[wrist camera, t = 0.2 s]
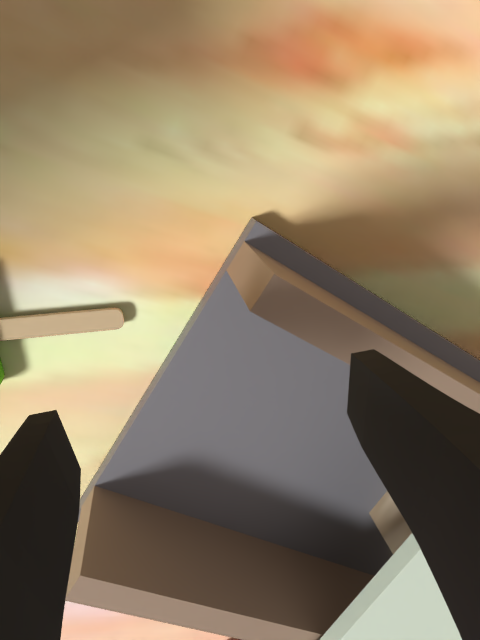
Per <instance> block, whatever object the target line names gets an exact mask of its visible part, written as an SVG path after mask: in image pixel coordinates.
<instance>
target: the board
mask: <svg viewBox="0 0 480 640" xmlns="http://www.w3.org/2000/svg"><path fill="white" fill-rule="evenodd" d="M372 349H374V350H376V351H378V352H380V353H381V354H383V355H384V356H386V357H388V358H389V359H391V360H392V361H394V362H395V363H397V364H398V365H400V366H402V367H403V368H405V369H406V370H408V371H409V372H411V373H412V374H414V375H416V376H417V377H419V378H420V379H422V380H423V381H425V382H427V383H428V384H430V385H431V386H433V387H435V388H436V389H438V390H440V391H441V392H443V393H444V394H446V395H448V396H449V397H451V398H453V399H455V400H456V401H458V402H460V403H461V404H463V405H465V406H467V407H468V408H470V409H472V410H474V411H476V412H478V413H479V414H480V360H478V359H477V358H475V357H474V356H472V355H470V354H469V353H467V352H466V351H464V350H462V349H461V348H459V347H458V346H456V345H454V344H453V343H451V342H450V341H448V340H446V339H445V338H443V337H442V336H440V335H438V334H437V333H435V332H434V331H432V330H431V329H429V328H427V327H426V326H424V325H423V324H421V323H419V322H418V321H416V320H415V319H413V318H411V317H410V316H408V315H407V314H405V313H403V312H402V311H400V310H399V309H397V308H395V307H394V306H392V305H391V304H389V303H387V302H386V301H384V300H383V299H381V298H379V297H378V296H376V295H375V294H373V293H372V292H370V291H368V290H367V289H365V288H364V287H362V286H360V285H359V284H357V283H356V282H354V281H352V280H351V279H349V278H348V277H346V276H344V275H343V274H341V273H340V272H338V271H336V270H335V269H333V268H332V267H330V266H328V265H327V264H325V263H324V262H322V261H320V260H319V259H317V258H316V257H314V256H313V255H311V254H309V253H308V252H306V251H305V250H303V249H301V248H300V247H298V246H297V245H295V244H293V243H292V242H290V241H289V240H287V239H285V238H284V237H282V236H281V235H279V234H277V233H276V232H274V231H273V230H271V229H269V228H268V227H266V226H265V225H263V224H261V223H260V222H258V221H257V220H255V219H253V218H251V219H250V221H249V223H248V224H247V226H246V227H245V229H244V231H243V232H242V234H241V236H240V237H239V239H238V241H237V242H236V244H235V246H234V247H233V249H232V250H231V252H230V254H229V255H228V257H227V259H226V260H225V262H224V264H223V265H222V267H221V269H220V270H219V272H218V274H217V275H216V277H215V278H214V280H213V282H212V283H211V285H210V287H209V288H208V290H207V292H206V293H205V295H204V297H203V298H202V300H201V301H200V303H199V305H198V306H197V308H196V310H195V311H194V313H193V315H192V316H191V318H190V320H189V321H188V323H187V324H186V326H185V328H184V329H183V331H182V333H181V334H180V336H179V338H178V339H177V341H176V343H175V344H174V346H173V347H172V349H171V351H170V352H169V354H168V356H167V357H166V359H165V361H164V362H163V364H162V366H161V367H160V369H159V370H158V372H157V374H156V375H155V377H154V379H153V380H152V382H151V384H150V385H149V387H148V389H147V390H146V392H145V393H144V395H143V397H142V398H141V400H140V402H139V403H138V405H137V407H136V408H135V410H134V412H133V413H132V415H131V416H130V418H129V420H128V421H127V423H126V425H125V426H124V428H123V430H122V431H121V433H120V435H119V436H118V438H117V440H116V441H115V443H114V444H113V446H112V448H111V449H110V451H109V453H108V454H107V456H106V458H105V459H104V461H103V463H102V464H101V466H100V467H99V469H98V471H97V472H96V474H95V476H94V477H93V479H92V481H91V482H90V484H89V486H88V487H87V489H86V490H85V492H84V494H83V495H82V497H81V499H80V507H79V517H78V522H79V523H78V528H77V534H76V539H75V544H74V550H73V555H72V562H71V568H70V574H69V580H68V587H67V593H66V599H65V601H69V602H74V603H78V604H83V605H87V606H92V607H96V608H101V609H105V610H110V611H115V612H119V613H124V614H128V615H133V616H137V617H142V618H146V619H151V620H155V621H160V622H164V623H169V624H173V625H178V626H182V627H187V628H191V629H196V630H200V631H205V632H210V633H214V634H219V635H223V636H228V637H232V638H237V639H241V640H320V638H321V637H322V636H323V635H324V634H325V633H326V631H327V630H328V629H329V628H330V627H331V626H332V625H333V623H334V622H335V621H336V620H337V619H338V618H339V617H340V615H341V614H342V613H343V612H344V611H345V610H346V608H347V607H348V606H349V605H350V604H351V603H352V602H353V600H354V599H355V598H356V597H357V596H358V595H359V593H360V592H361V591H362V590H363V589H364V588H365V587H366V585H367V584H368V583H369V582H370V581H371V580H372V578H373V577H374V576H375V575H376V574H377V573H378V572H379V570H380V569H381V568H382V567H383V566H384V565H385V564H386V562H387V561H388V560H389V559H390V558H391V557H392V555H393V553H392V552H391V550H390V548H389V547H388V545H387V543H386V541H385V540H384V538H383V536H382V535H381V533H380V531H379V529H378V528H377V526H376V524H375V523H374V521H373V519H372V517H371V516H370V514H369V512H370V511H371V510H372V509H373V507H374V506H375V505H376V504H377V503H378V501H379V500H380V499H381V498H382V497H383V495H384V494H385V493H386V492H387V490H386V488H385V486H384V485H383V483H382V481H381V480H380V478H379V476H378V474H377V473H376V471H375V469H374V468H373V466H372V464H371V463H370V461H369V459H368V457H367V456H366V454H365V452H364V451H363V449H362V447H361V445H360V442H359V440H358V438H357V436H356V433H355V431H354V429H353V426H352V424H351V422H350V419H349V417H348V414H347V404H348V389H349V375H350V360H351V353H356V352H361V351H367V350H372Z"/></svg>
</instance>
